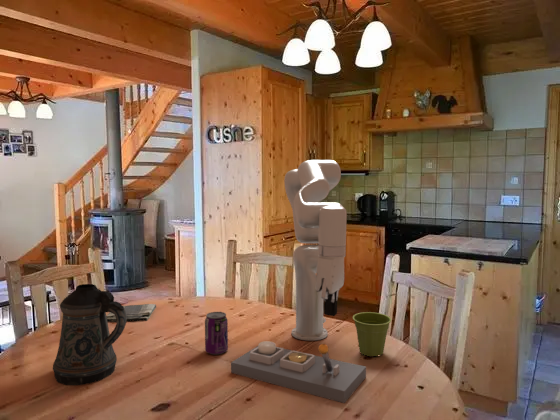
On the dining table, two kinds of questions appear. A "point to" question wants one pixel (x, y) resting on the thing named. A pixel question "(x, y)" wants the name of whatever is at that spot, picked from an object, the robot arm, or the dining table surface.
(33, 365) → the dining table surface
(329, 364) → the lever
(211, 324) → the beverage can
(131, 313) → the dish towel
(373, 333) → the plant pot
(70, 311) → the beer stein
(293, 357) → the brass button
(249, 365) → the switch panel
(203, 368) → the dining table surface
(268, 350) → the ivory button
